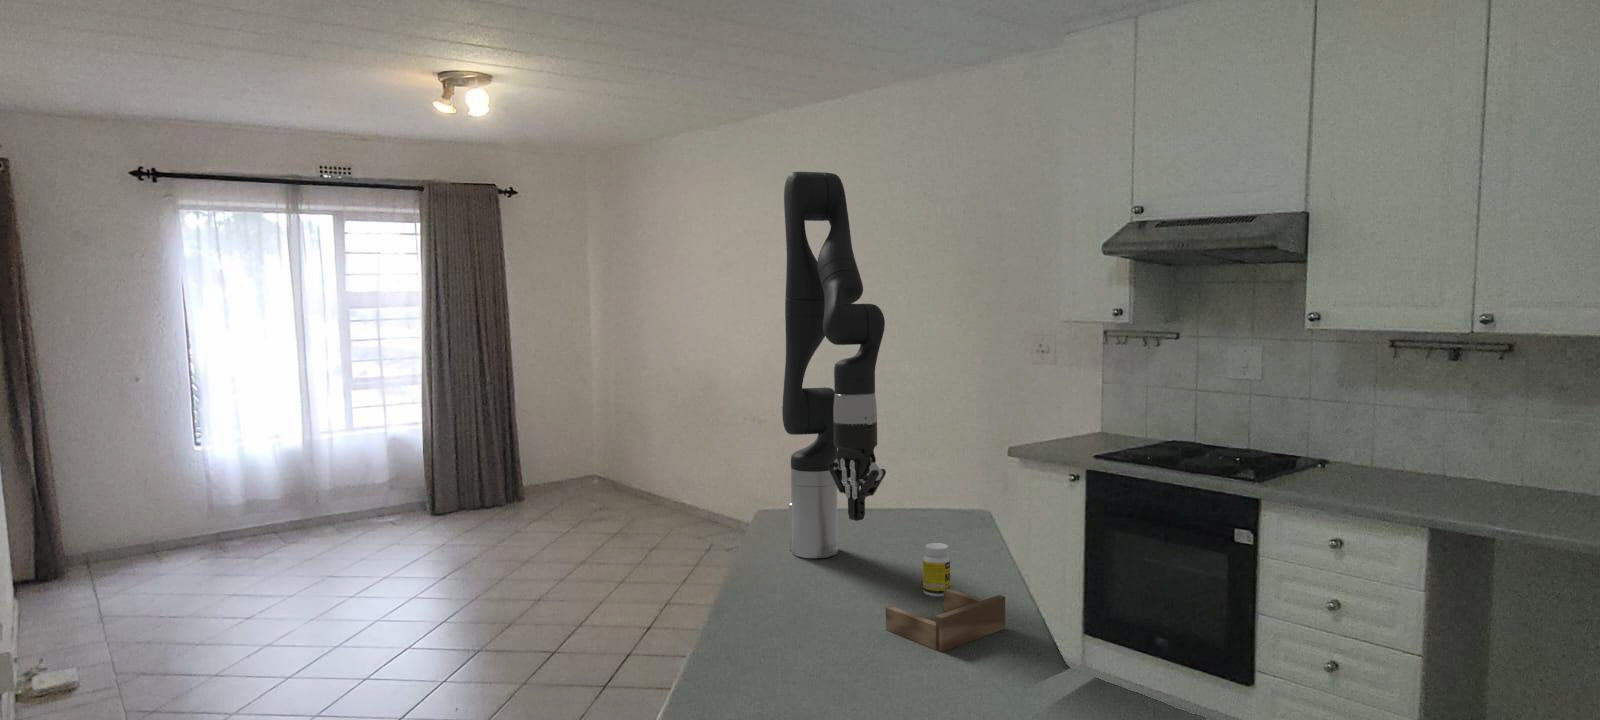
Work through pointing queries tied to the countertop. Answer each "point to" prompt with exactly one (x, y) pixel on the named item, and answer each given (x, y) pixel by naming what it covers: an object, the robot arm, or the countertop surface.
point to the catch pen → (950, 621)
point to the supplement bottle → (936, 569)
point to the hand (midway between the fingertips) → (856, 519)
